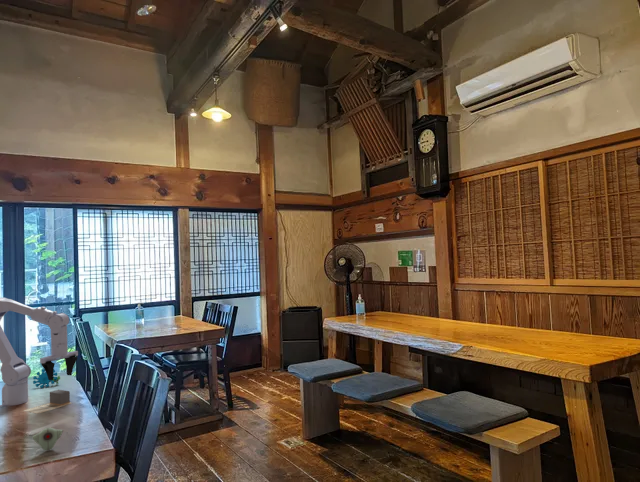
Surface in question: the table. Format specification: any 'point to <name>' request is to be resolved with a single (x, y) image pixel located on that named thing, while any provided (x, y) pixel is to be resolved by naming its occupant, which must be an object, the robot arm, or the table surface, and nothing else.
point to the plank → (44, 408)
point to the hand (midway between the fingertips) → (60, 377)
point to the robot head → (47, 438)
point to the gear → (45, 379)
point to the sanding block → (59, 397)
